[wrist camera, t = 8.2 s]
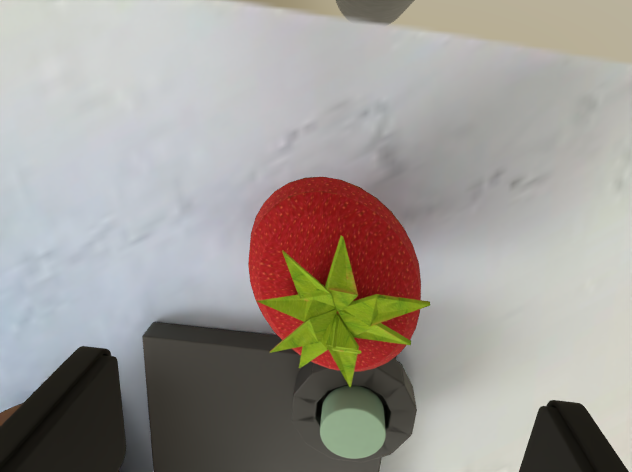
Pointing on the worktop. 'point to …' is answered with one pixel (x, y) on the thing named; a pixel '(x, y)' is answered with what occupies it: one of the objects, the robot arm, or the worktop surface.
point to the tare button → (352, 422)
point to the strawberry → (335, 275)
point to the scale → (254, 404)
